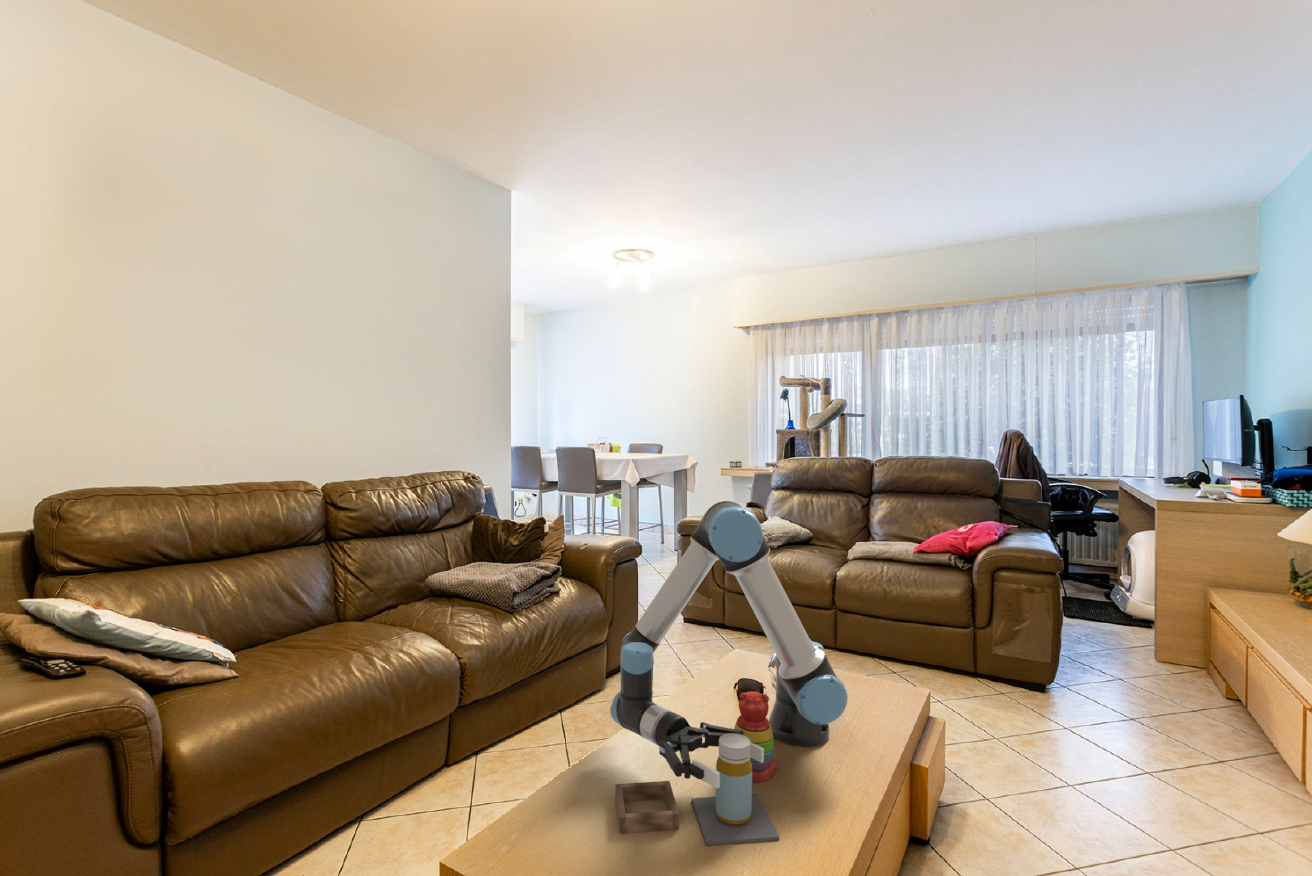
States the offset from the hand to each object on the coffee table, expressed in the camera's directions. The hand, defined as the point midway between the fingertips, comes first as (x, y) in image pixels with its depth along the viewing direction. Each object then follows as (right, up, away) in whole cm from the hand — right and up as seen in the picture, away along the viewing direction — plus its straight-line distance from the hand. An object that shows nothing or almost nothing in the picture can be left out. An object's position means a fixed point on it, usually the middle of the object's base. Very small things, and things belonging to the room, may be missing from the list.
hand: (741, 767), depth 122 cm
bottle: (-1, -11, +2) cm, 11 cm away
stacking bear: (+5, -11, +20) cm, 23 cm away
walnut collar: (-19, -11, +3) cm, 22 cm away
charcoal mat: (-1, -11, +2) cm, 11 cm away
